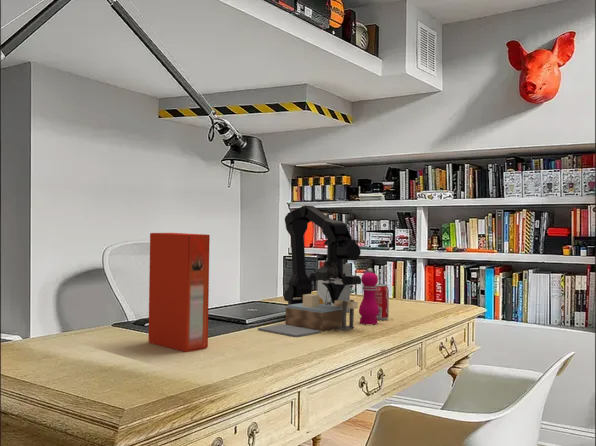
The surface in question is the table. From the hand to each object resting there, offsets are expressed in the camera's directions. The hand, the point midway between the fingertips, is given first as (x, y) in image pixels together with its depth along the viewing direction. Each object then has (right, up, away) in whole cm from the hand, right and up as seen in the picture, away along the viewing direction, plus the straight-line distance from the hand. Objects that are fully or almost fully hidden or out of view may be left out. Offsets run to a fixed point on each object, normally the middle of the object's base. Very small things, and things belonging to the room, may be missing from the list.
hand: (334, 303), depth 214 cm
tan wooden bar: (+4, -1, -3) cm, 5 cm away
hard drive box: (+2, -8, +41) cm, 42 cm away
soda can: (+18, -9, +20) cm, 28 cm away
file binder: (-47, -7, -37) cm, 61 cm away
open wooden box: (-5, -8, 0) cm, 9 cm away
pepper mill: (+13, -9, +10) cm, 18 cm away
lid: (-7, -2, +1) cm, 7 cm away
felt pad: (-15, -8, -10) cm, 20 cm away
